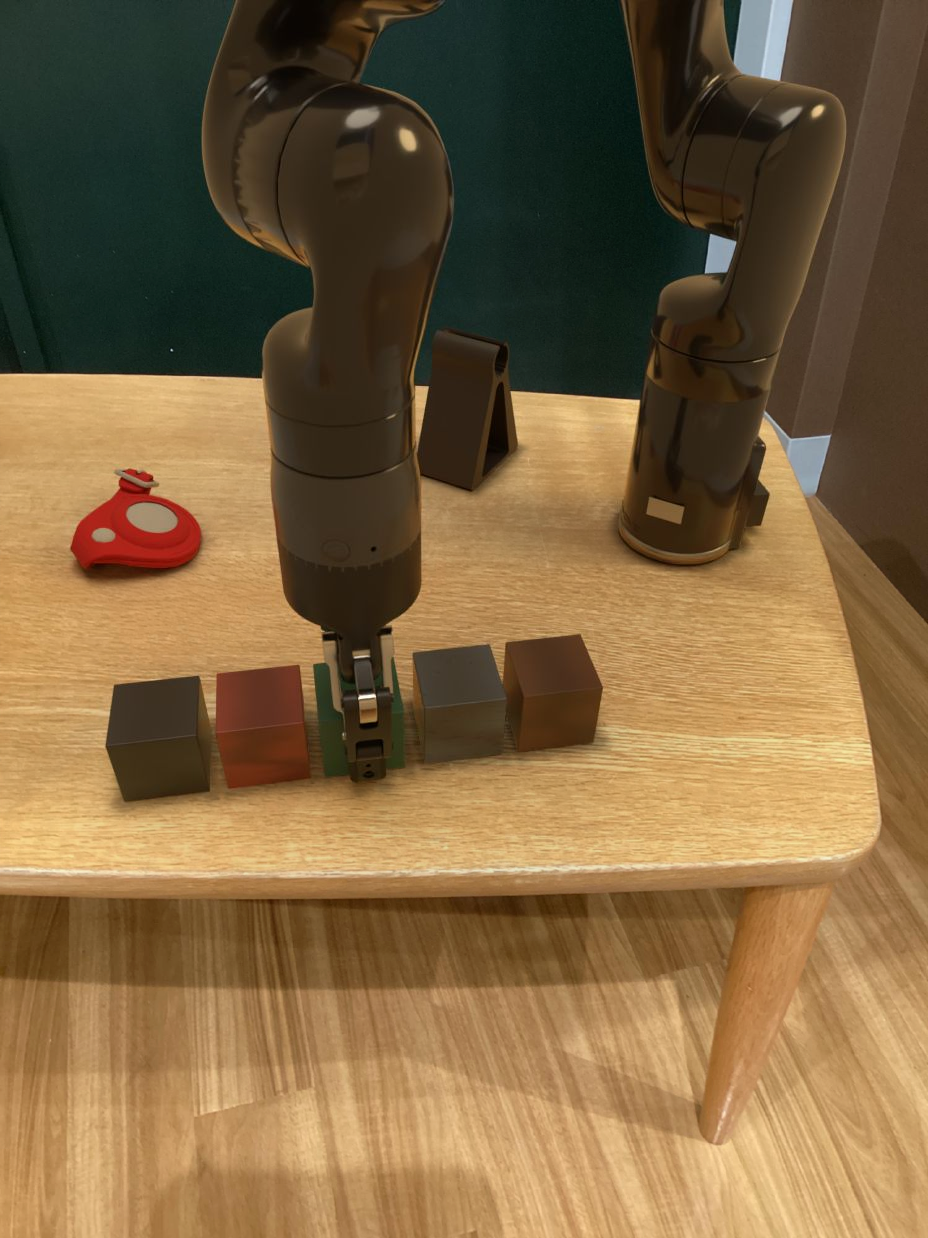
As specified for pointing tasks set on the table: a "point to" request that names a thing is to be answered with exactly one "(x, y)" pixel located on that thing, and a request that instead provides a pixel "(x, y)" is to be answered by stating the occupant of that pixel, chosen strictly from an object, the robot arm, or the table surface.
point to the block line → (277, 728)
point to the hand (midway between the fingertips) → (362, 739)
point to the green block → (334, 725)
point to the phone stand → (467, 409)
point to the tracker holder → (137, 528)
